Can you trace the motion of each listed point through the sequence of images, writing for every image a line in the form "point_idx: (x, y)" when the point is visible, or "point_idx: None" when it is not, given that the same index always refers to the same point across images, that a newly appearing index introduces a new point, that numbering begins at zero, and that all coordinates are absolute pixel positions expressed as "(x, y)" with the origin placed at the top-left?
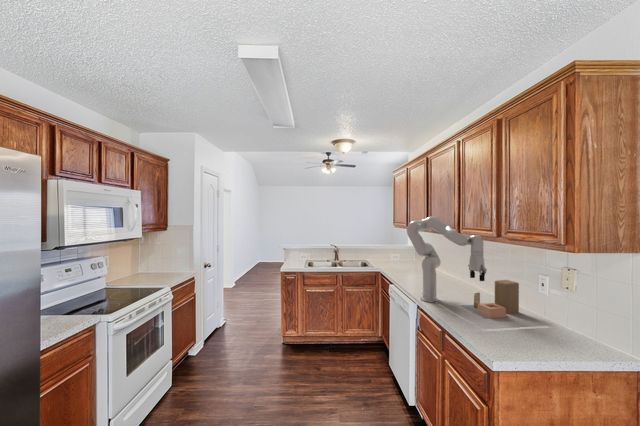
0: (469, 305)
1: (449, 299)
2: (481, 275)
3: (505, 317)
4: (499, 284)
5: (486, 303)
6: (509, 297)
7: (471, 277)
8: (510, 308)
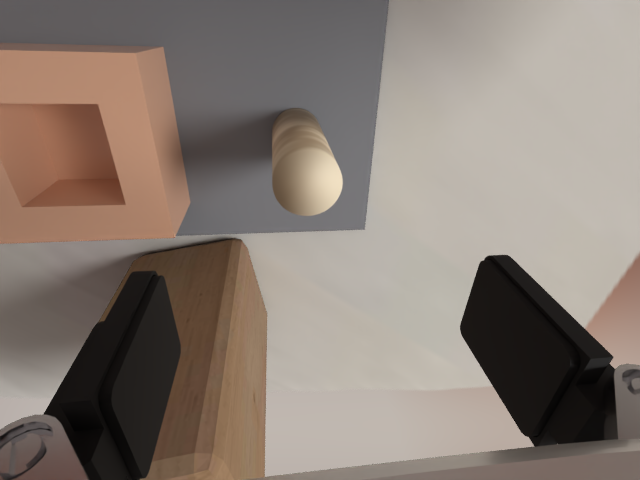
0: (364, 106)
1: (602, 56)
2: (58, 418)
3: None
4: None
5: (146, 161)
6: None
7: (481, 272)
8: None
